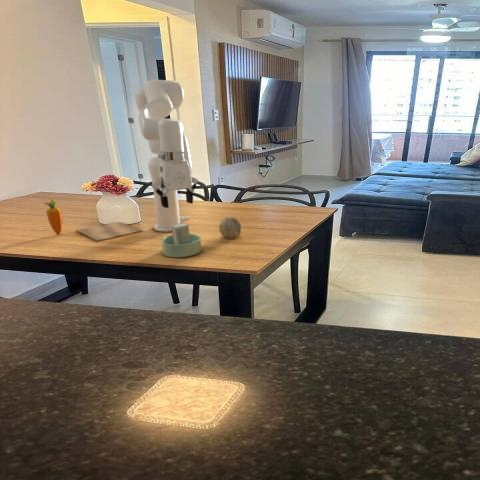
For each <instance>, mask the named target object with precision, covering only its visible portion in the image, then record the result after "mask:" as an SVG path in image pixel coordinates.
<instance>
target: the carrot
mask: <svg viewBox="0 0 480 480" xmlns="http://www.w3.org/2000/svg"><path fill="white" fill-rule="evenodd" d="M44 204H45V205H47V206H48V207H49V208H48V209H46V211H45V212H46V215H47V220H48V223H49V225H50V227H51V229H52V230H53V231H54V233H55V234H56V235H58V236H59V235H60V234H61V232H62V230H63V215H62V209H60V208H59V207H56V204H57V201H56V200H55V199H54V198H51V199H50V201H48V202H44Z"/></svg>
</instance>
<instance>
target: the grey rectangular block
mask: <svg viewBox="0 0 480 480" xmlns="http://www.w3.org/2000/svg"><path fill="white" fill-rule="evenodd" d="M171 228H172V231H171V235H172V236H173V243H174V245H180V244H188V243H190V236H189V234H190V228H189V225H188V224H187V223H185V222H183V223H180V224H175V225H171Z"/></svg>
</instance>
